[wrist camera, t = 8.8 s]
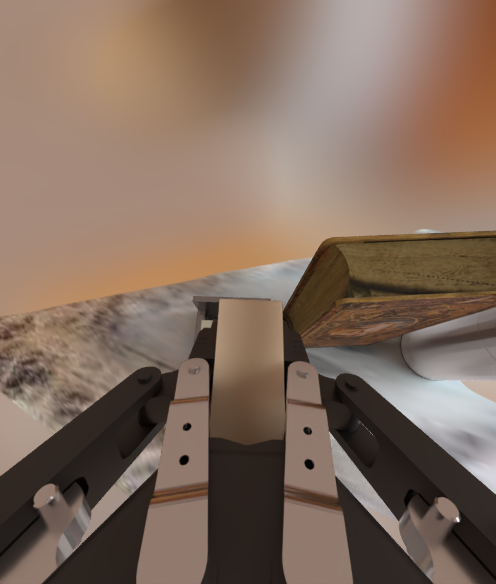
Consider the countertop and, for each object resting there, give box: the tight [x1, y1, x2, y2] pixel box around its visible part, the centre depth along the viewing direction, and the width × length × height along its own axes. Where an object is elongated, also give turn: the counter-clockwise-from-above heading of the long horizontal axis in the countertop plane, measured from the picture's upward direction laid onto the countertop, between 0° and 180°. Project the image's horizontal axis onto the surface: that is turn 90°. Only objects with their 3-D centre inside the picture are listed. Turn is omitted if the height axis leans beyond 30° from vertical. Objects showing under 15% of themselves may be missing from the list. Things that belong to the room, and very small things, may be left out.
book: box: [282, 231, 496, 348], centre depth 29 cm, size 16×6×25 cm, turn 93°
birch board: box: [210, 299, 285, 445], centre depth 20 cm, size 3×6×22 cm, turn 178°
